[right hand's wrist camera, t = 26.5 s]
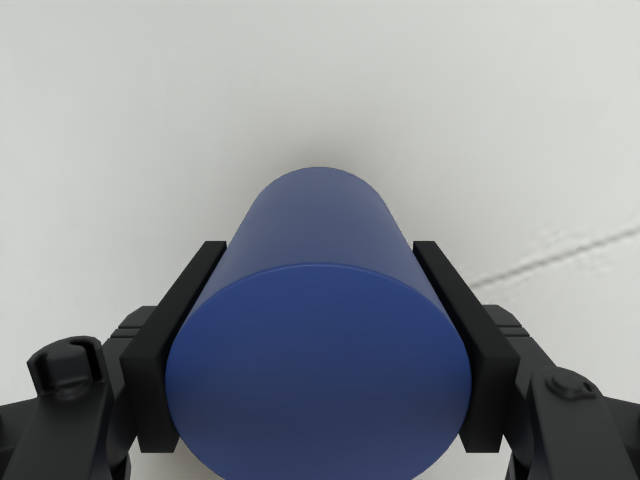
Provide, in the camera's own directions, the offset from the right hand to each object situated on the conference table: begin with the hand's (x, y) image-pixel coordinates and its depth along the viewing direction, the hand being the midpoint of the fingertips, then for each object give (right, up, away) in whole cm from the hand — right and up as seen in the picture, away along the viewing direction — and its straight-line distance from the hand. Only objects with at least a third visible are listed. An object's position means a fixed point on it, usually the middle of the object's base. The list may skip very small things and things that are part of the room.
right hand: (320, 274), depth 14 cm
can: (0, +1, +3) cm, 3 cm away
